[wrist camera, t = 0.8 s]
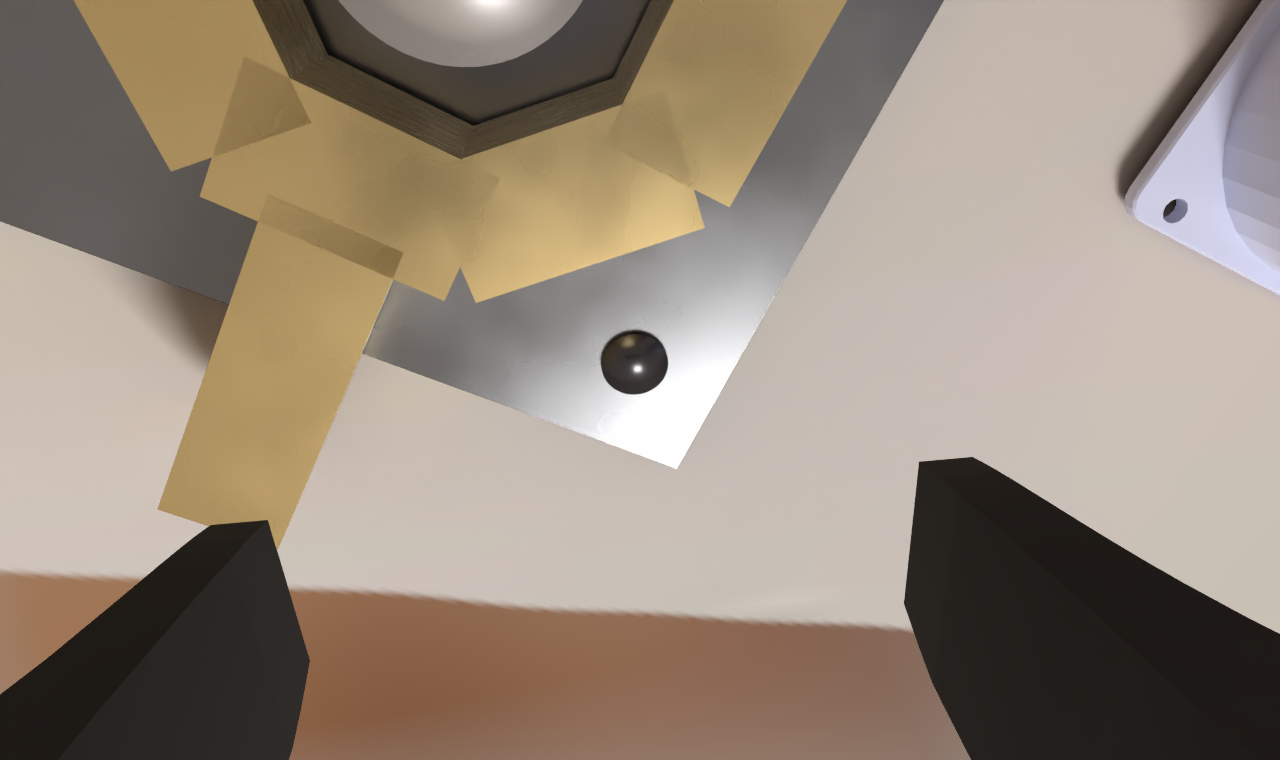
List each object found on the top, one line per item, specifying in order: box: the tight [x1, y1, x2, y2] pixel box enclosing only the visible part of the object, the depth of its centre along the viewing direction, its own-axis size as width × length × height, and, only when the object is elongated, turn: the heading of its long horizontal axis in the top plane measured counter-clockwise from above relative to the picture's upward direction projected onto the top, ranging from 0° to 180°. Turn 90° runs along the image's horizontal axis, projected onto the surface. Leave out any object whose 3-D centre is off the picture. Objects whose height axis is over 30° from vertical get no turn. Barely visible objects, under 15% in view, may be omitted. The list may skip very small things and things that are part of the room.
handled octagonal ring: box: [74, 0, 847, 549], centre depth 15 cm, size 17×11×2 cm, turn 152°
